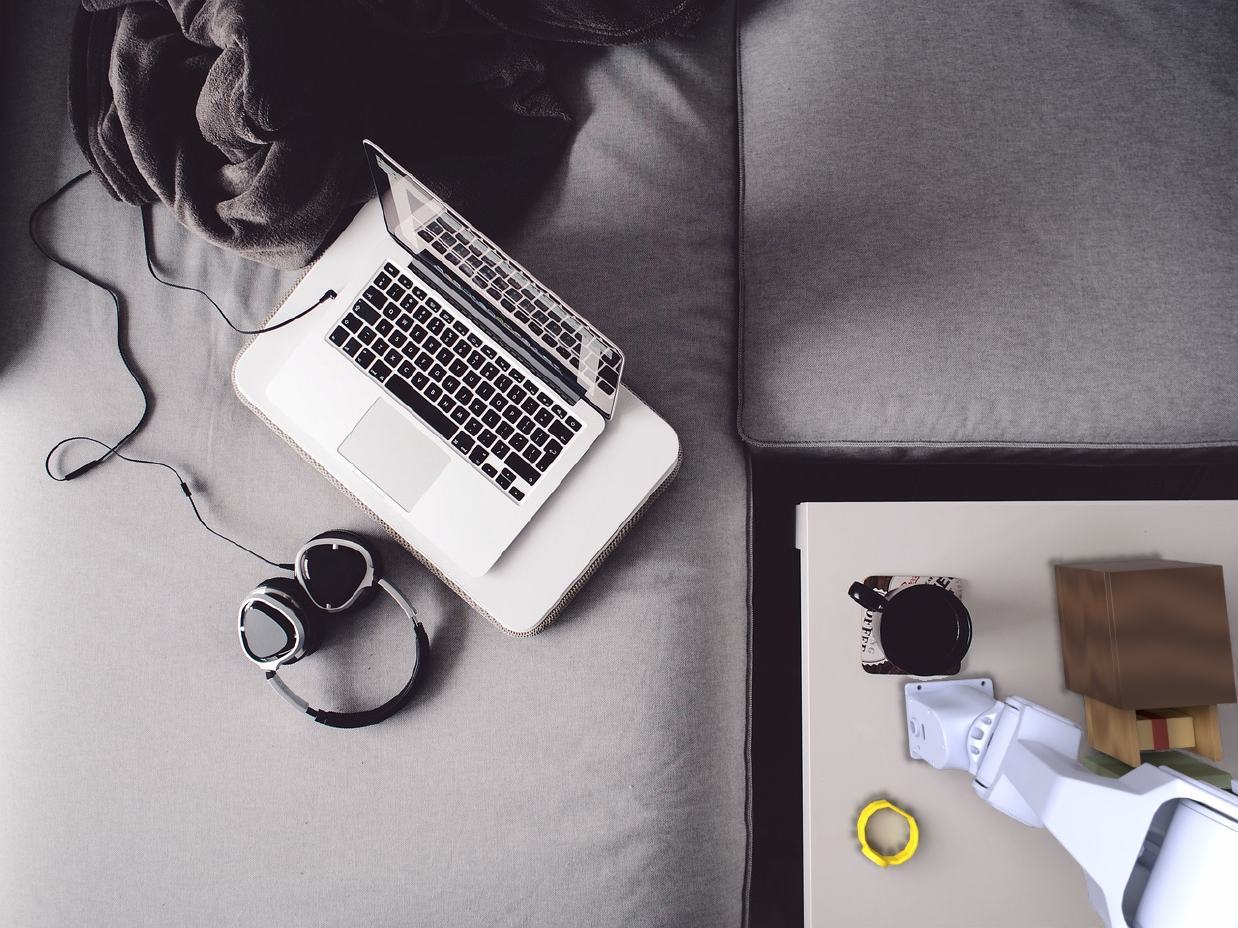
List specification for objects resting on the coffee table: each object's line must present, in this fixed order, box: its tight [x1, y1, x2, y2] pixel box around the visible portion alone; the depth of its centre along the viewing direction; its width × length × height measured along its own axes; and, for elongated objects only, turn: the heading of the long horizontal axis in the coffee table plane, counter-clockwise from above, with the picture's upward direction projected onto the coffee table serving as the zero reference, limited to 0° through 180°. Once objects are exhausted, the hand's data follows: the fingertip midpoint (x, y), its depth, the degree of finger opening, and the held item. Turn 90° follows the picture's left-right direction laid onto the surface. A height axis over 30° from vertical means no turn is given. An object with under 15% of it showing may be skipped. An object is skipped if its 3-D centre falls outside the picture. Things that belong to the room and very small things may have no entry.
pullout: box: [1082, 695, 1233, 788], centre depth 71 cm, size 17×10×7 cm, turn 3°
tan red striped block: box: [1135, 708, 1195, 751], centre depth 72 cm, size 7×3×4 cm, turn 93°
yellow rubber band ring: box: [856, 799, 920, 869], centre depth 73 cm, size 6×3×6 cm
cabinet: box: [1053, 558, 1238, 711], centre depth 72 cm, size 13×11×8 cm
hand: (1178, 827), depth 64 cm, fingers open, 7 cm apart
